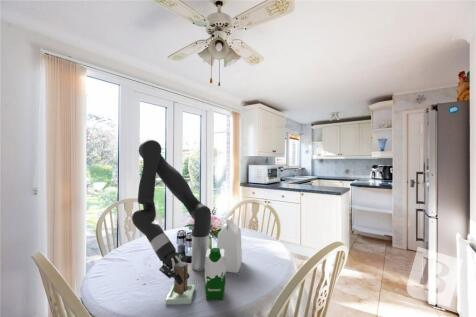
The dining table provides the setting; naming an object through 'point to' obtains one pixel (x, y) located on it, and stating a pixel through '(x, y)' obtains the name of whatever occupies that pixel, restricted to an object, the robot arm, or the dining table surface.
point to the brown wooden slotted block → (183, 272)
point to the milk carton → (215, 274)
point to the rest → (180, 296)
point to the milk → (231, 245)
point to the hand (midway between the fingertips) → (184, 280)
